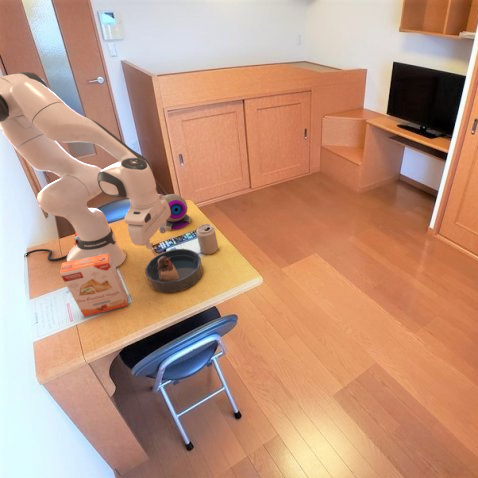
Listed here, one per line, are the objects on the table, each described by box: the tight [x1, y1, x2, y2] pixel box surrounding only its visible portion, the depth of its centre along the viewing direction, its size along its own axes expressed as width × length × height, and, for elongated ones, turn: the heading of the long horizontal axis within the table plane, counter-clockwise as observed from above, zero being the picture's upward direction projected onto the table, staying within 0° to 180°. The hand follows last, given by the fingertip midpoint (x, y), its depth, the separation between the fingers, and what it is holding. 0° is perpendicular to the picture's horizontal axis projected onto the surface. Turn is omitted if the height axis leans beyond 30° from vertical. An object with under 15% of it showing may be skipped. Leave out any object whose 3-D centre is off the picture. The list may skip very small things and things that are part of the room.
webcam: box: [164, 193, 192, 231], centre depth 166 cm, size 13×13×15 cm
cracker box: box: [59, 253, 129, 318], centre depth 120 cm, size 14×6×21 cm, turn 114°
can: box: [195, 223, 219, 255], centre depth 150 cm, size 8×8×12 cm
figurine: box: [157, 256, 180, 282], centre depth 133 cm, size 7×7×12 cm
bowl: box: [144, 248, 204, 294], centre depth 138 cm, size 20×20×6 cm
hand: (157, 239), depth 125 cm, fingers open, 8 cm apart
